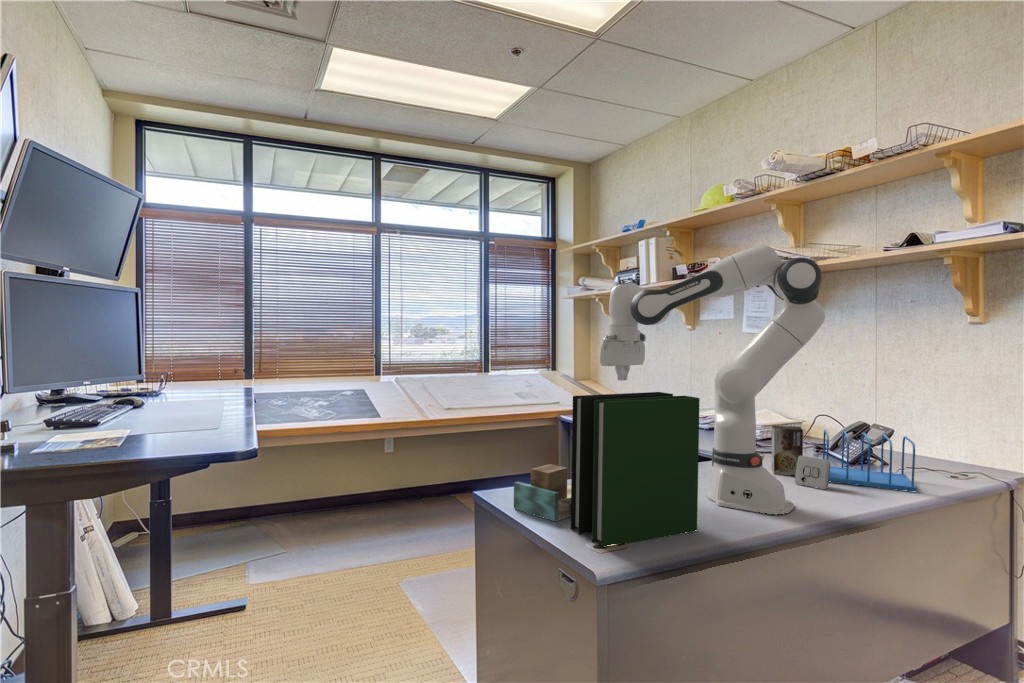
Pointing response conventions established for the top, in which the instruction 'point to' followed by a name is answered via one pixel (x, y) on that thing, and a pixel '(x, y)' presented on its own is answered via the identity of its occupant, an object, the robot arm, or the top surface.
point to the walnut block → (550, 479)
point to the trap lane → (541, 501)
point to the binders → (634, 466)
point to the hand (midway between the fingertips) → (622, 380)
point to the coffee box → (786, 449)
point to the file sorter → (868, 476)
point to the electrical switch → (812, 472)
